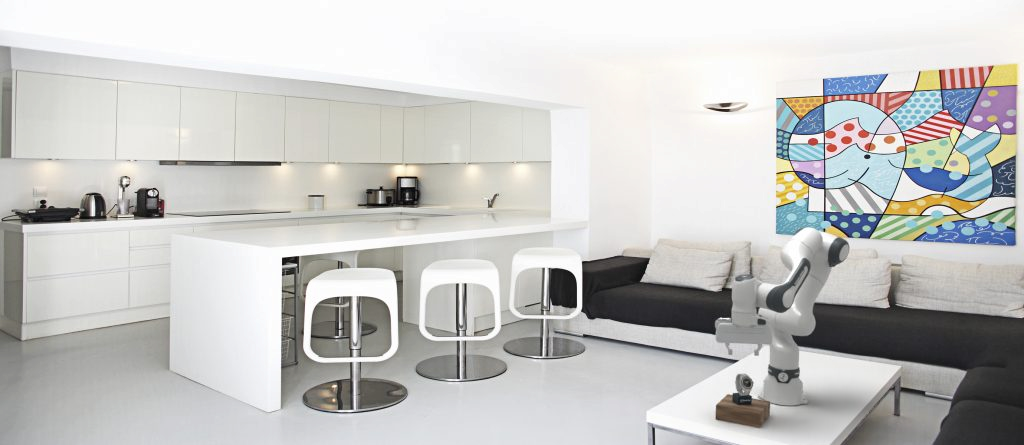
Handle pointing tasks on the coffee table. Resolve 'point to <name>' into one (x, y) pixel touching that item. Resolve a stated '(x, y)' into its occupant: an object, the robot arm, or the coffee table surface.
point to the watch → (746, 385)
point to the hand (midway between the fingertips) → (743, 354)
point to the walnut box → (743, 412)
